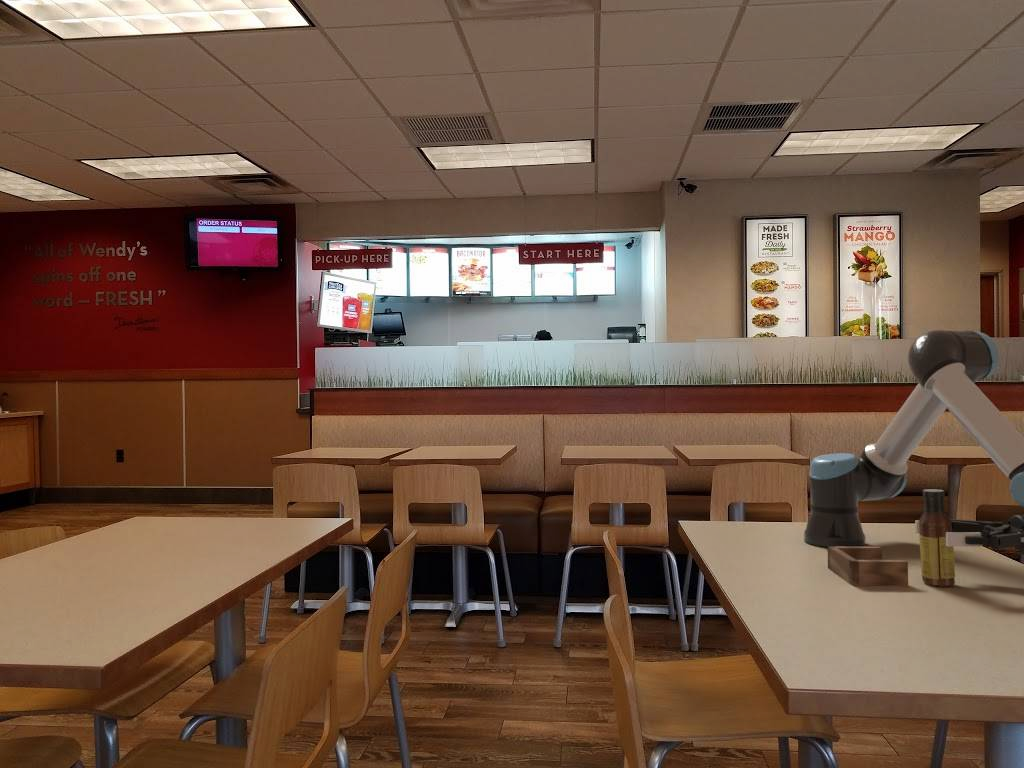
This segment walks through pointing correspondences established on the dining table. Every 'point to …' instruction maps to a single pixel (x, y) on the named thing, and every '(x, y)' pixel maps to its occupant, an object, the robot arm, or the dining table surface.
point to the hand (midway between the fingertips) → (930, 532)
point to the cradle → (866, 566)
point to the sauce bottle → (936, 541)
